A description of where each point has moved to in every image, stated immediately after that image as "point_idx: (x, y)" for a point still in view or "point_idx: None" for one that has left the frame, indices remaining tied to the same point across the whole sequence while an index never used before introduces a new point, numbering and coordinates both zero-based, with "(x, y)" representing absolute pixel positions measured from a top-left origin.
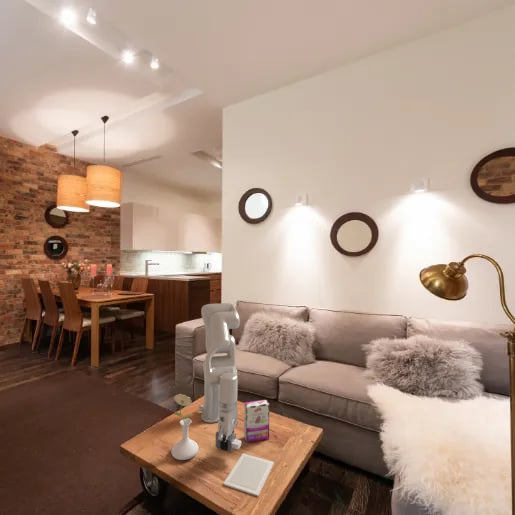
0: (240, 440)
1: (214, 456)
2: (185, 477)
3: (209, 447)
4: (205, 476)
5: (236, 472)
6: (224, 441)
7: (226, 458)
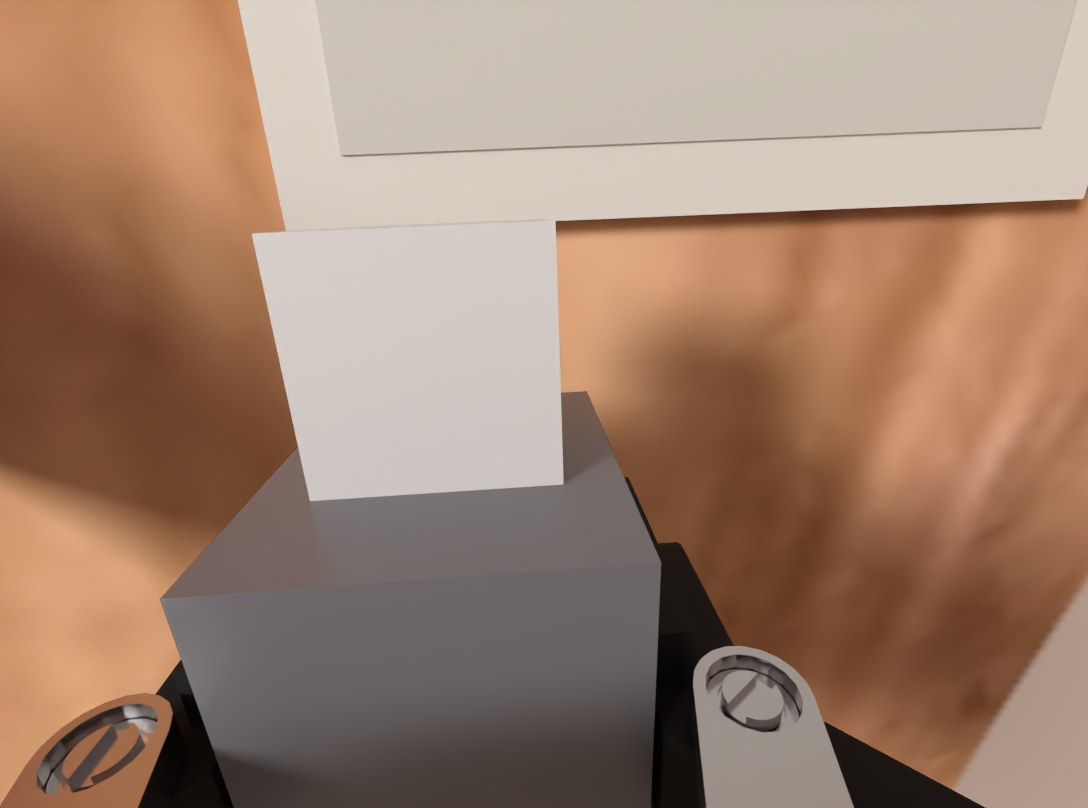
0: (263, 280)
1: None
2: (980, 665)
3: None
4: (929, 500)
5: (806, 96)
6: (814, 728)
7: None
